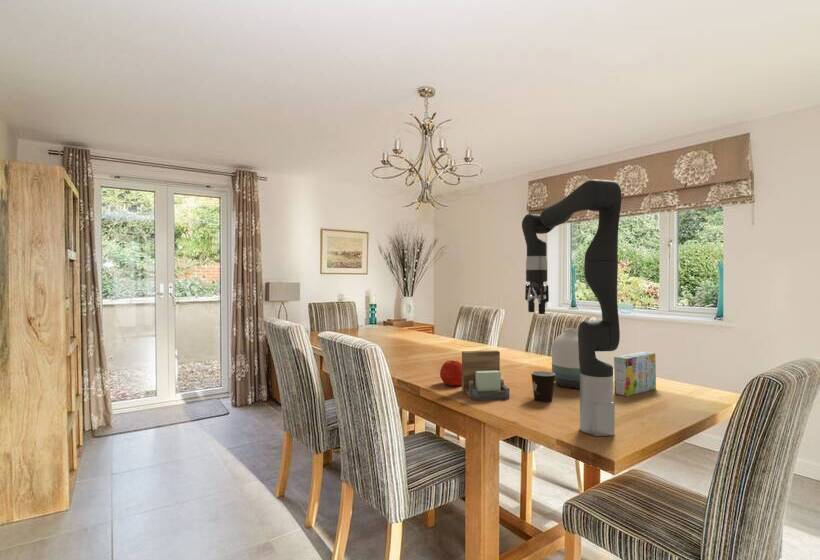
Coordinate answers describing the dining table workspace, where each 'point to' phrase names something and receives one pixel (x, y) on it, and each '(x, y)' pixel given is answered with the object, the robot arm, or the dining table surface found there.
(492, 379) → the pale green flat block
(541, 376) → the coffee mug
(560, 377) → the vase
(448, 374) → the apple
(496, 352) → the desk organizer
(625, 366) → the snack box
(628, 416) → the dining table surface
